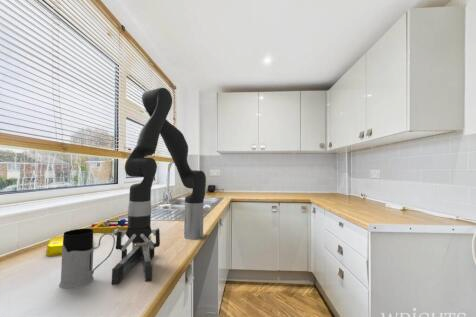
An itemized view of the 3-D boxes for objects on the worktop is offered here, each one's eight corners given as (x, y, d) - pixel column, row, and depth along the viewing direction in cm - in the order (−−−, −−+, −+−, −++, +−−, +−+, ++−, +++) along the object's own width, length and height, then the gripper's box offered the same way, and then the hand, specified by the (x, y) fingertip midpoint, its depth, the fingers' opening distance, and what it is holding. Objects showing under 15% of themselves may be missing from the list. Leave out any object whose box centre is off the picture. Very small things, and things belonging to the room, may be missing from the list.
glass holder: (63, 278, 74) (65, 229, 74) (114, 270, 79) (116, 225, 80) (54, 292, 66) (57, 237, 66) (112, 282, 71) (114, 232, 72)
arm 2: (141, 258, 90) (142, 246, 90) (146, 257, 91) (147, 245, 91) (145, 281, 72) (145, 266, 72) (151, 280, 73) (152, 265, 73)
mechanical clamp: (93, 217, 135) (149, 215, 140) (93, 228, 134) (149, 226, 140) (78, 224, 117) (142, 223, 122) (77, 237, 116) (142, 235, 122)
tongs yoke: (135, 255, 93) (136, 243, 93) (148, 254, 94) (148, 242, 94) (134, 258, 90) (134, 246, 90) (147, 257, 91) (147, 245, 92)
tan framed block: (133, 255, 93) (133, 236, 93) (150, 253, 94) (151, 235, 95) (132, 257, 90) (132, 238, 90) (150, 256, 92) (150, 237, 92)
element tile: (91, 241, 111) (92, 231, 111) (91, 251, 98) (92, 239, 98) (51, 246, 103) (51, 235, 103) (45, 258, 90) (46, 245, 90)
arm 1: (134, 258, 90) (135, 246, 90) (139, 258, 90) (140, 246, 90) (111, 284, 70) (112, 269, 70) (118, 284, 70) (118, 268, 70)
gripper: (161, 210, 90) (159, 254, 89) (120, 212, 86) (118, 257, 86) (160, 214, 83) (158, 262, 82) (115, 216, 79) (113, 265, 78)
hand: (138, 259), depth 84 cm, fingers open, 8 cm apart
